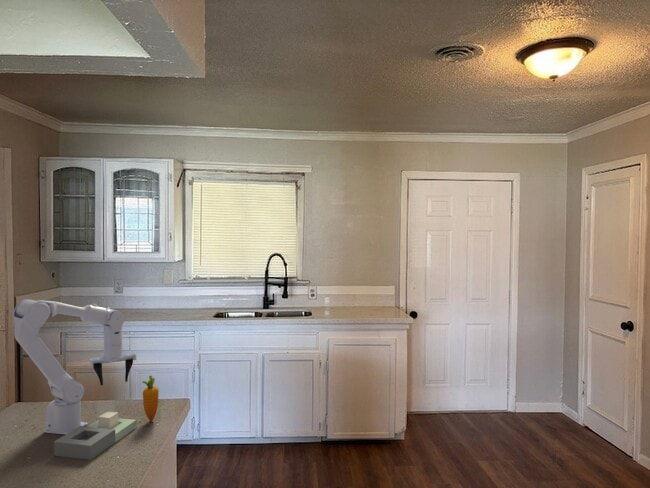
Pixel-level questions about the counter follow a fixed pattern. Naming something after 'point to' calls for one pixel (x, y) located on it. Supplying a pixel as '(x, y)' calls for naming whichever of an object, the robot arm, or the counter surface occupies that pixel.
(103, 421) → the peg
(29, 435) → the counter surface
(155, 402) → the carrot
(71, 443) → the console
